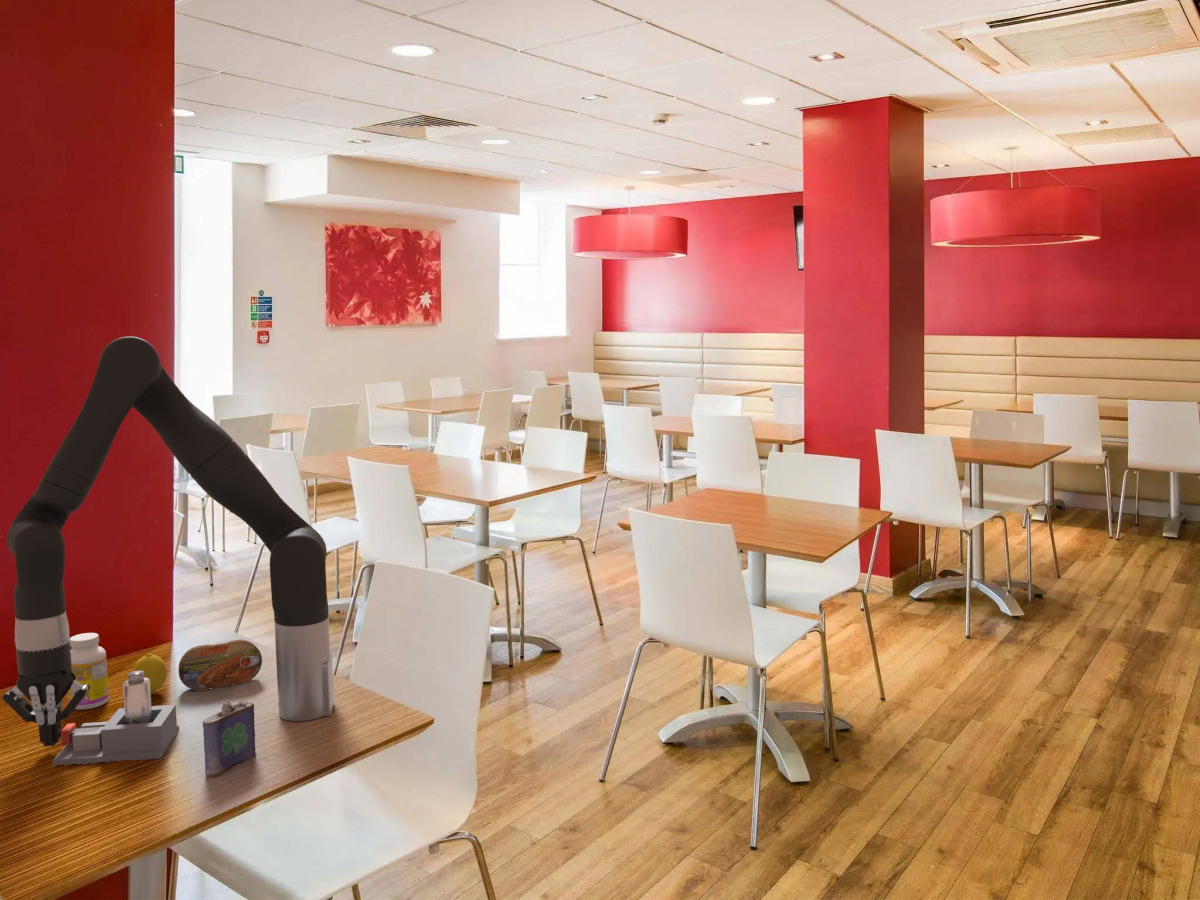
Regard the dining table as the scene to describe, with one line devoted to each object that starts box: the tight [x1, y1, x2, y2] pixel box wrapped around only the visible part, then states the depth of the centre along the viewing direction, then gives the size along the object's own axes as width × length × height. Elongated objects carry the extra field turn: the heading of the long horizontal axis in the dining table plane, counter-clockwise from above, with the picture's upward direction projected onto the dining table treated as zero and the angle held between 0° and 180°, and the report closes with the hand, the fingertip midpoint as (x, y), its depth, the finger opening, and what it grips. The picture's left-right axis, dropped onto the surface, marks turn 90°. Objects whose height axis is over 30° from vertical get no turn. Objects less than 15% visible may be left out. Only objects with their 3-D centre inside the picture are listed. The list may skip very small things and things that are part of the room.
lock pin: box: [61, 722, 103, 746], centre depth 158 cm, size 9×3×2 cm, turn 99°
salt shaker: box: [122, 670, 153, 724], centre depth 159 cm, size 4×4×12 cm
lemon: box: [133, 652, 167, 695], centre depth 182 cm, size 6×6×8 cm
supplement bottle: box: [67, 632, 110, 711], centre depth 177 cm, size 7×7×13 cm
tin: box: [178, 639, 263, 692], centre depth 186 cm, size 15×3×8 cm, turn 117°
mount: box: [52, 704, 180, 767], centre depth 159 cm, size 16×11×5 cm
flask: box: [202, 698, 257, 779], centre depth 152 cm, size 9×3×11 cm, turn 151°
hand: (51, 744), depth 157 cm, fingers closed
